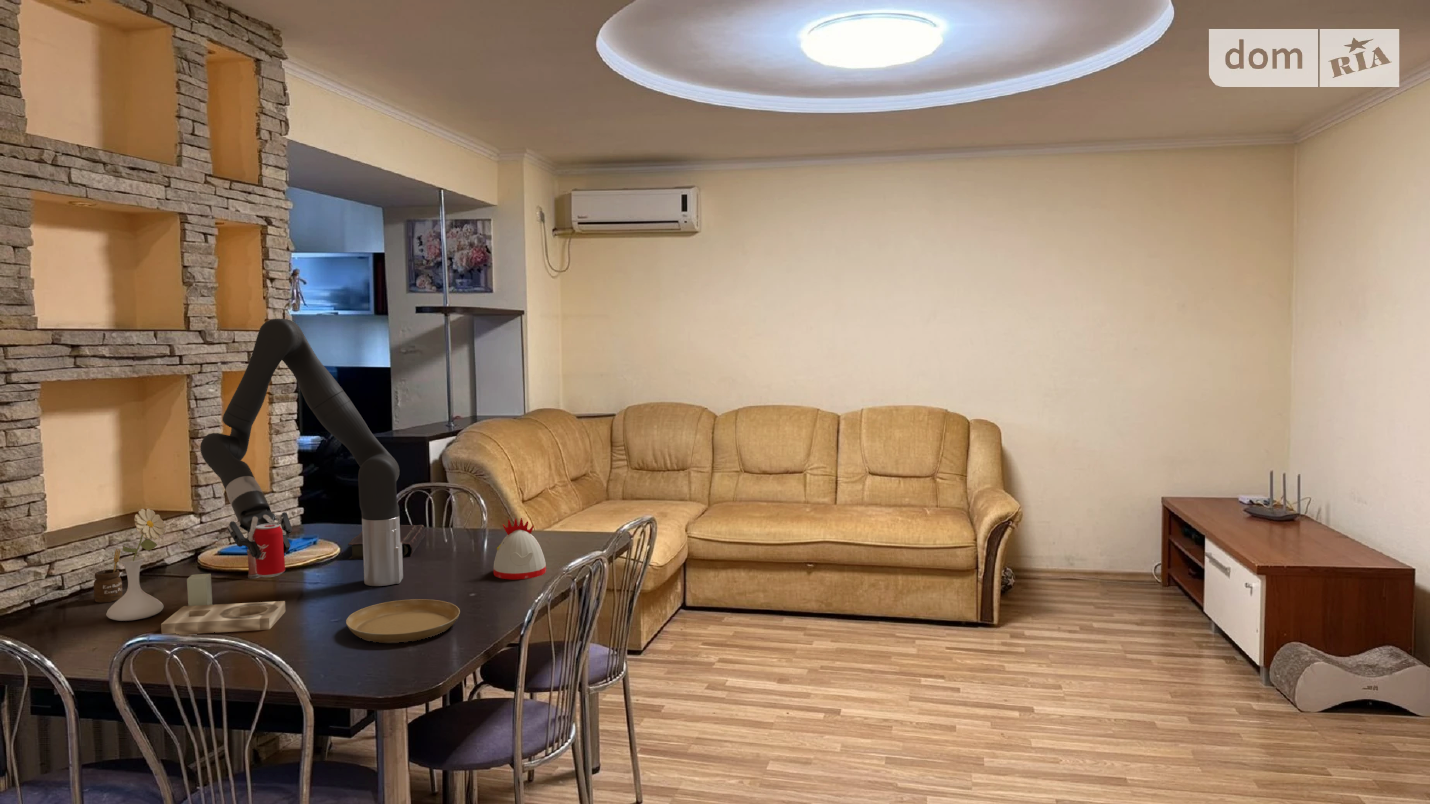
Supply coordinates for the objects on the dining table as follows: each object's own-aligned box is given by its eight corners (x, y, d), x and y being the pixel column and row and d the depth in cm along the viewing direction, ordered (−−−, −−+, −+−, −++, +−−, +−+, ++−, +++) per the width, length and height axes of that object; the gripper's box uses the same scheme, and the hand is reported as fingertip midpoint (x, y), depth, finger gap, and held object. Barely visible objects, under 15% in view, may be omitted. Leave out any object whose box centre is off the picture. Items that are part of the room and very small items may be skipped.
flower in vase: (122, 628, 215) (116, 518, 213) (96, 620, 221) (90, 512, 219) (181, 613, 226) (175, 508, 224) (154, 605, 232) (148, 503, 230)
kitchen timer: (491, 568, 265) (490, 514, 264) (542, 564, 269) (540, 511, 268) (496, 581, 252) (494, 525, 251) (549, 576, 256) (547, 521, 255)
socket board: (285, 613, 225) (284, 600, 225) (269, 631, 213) (269, 618, 212) (184, 618, 222) (183, 606, 221) (161, 637, 209) (161, 623, 209)
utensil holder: (88, 601, 235) (85, 553, 234) (112, 594, 241) (110, 547, 240) (105, 604, 233) (102, 555, 232) (129, 597, 239) (126, 549, 238)
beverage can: (262, 571, 234) (259, 523, 233) (289, 570, 234) (286, 522, 233) (252, 578, 227) (249, 528, 226) (279, 577, 228) (276, 527, 227)
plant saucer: (462, 641, 206) (461, 626, 206) (342, 653, 200) (341, 637, 199) (458, 608, 229) (458, 595, 229) (350, 618, 223) (350, 604, 222)
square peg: (212, 610, 228) (210, 573, 227) (207, 616, 224) (205, 578, 223) (194, 612, 227) (192, 574, 226) (188, 617, 223) (186, 579, 222)
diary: (425, 539, 303) (425, 523, 303) (412, 559, 278) (412, 542, 278) (364, 540, 300) (363, 525, 300) (345, 560, 276) (344, 543, 275)
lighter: (256, 578, 256) (254, 541, 255) (244, 578, 256) (242, 541, 255) (275, 570, 263) (273, 534, 263) (264, 570, 264) (262, 534, 263)
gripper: (220, 494, 228) (246, 550, 222) (280, 485, 239) (307, 538, 233) (212, 513, 232) (238, 569, 226) (272, 503, 243) (298, 556, 237)
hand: (273, 553), depth 229 cm, fingers closed on beverage can, 6 cm apart
